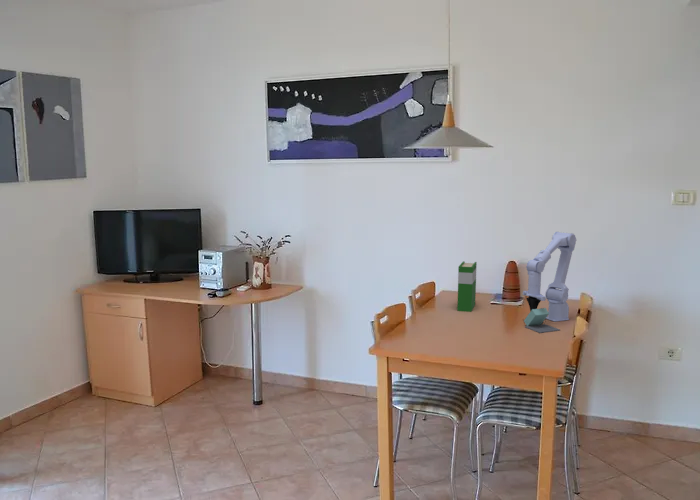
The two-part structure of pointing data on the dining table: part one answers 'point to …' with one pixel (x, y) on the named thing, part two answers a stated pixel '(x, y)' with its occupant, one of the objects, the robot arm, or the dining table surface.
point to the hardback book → (466, 286)
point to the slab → (536, 316)
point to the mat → (542, 328)
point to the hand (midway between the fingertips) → (533, 312)
